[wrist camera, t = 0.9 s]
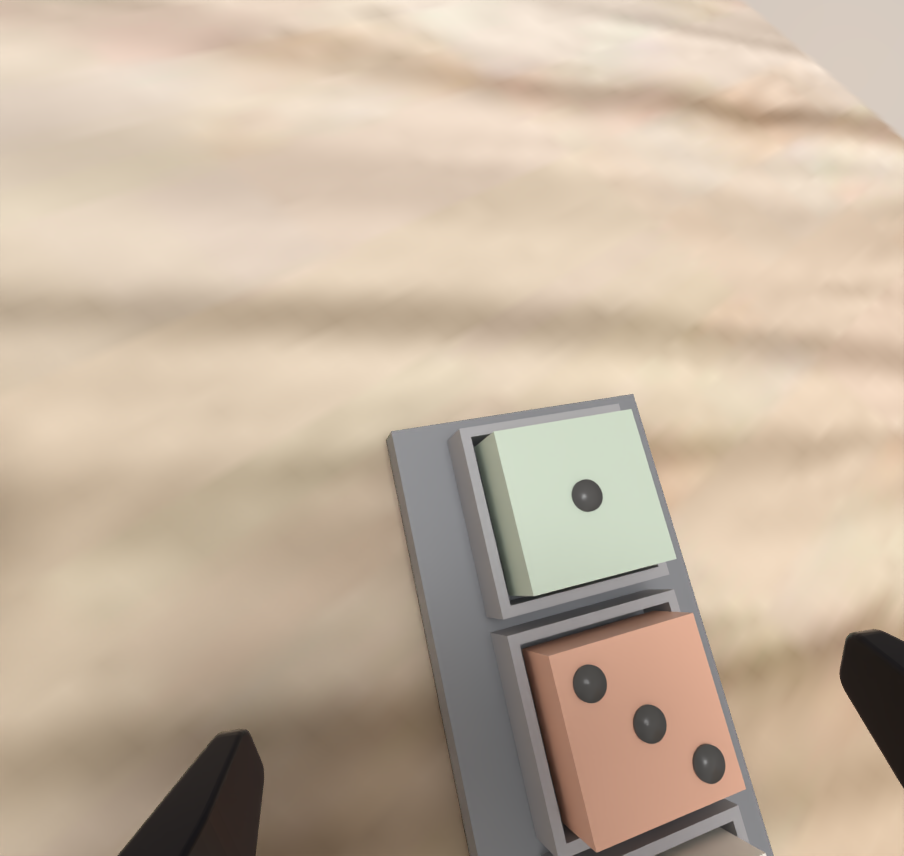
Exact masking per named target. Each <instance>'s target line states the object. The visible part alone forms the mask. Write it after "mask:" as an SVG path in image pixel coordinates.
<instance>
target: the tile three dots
mask: <svg viewBox="0 0 904 856" xmlns="http://www.w3.org/2000/svg"><path fill="white" fill-rule="evenodd" d="M522 653H523V657H524V661H525V665H526V670H527V674H528V678H529V682H530V686H531V691H532V695H533V699H534V703H535V708H536V712H537V716H538V720H539V725H540V729H541V733H542V737H543V742H544V746H545V750H546V754H547V759H548V763H549V767H550V771H551V776H552V780H553V784H554V788H555V793H556V797H557V801H558V805H559V810H560V814H561V818H562V822H563V824H565V825H566V826H567V827H568V828H569V829H570V830H571V831H572V832H574V833H575V834H576V835H577V836H578V837H579V838H580V839H582V840H583V841H584V842H585V843H586V844H587V845H588V846H589V847H591V848H592V849H593V850H594V851H595V852H596V853H597V852H600V851H602V850H604V849H607V848H609V847H611V846H614V845H616V844H618V843H621V842H623V841H626V840H628V839H630V838H633V837H635V836H637V835H640V834H642V833H644V832H647V831H649V830H651V829H654V828H656V827H658V826H661V825H663V824H665V823H668V822H670V821H672V820H675V819H677V818H679V817H682V816H684V815H686V814H689V813H691V812H693V811H696V810H698V809H700V808H703V807H705V806H708V805H710V804H712V803H715V802H717V801H719V800H722V799H724V798H726V797H729V796H731V795H733V794H736V793H738V792H740V791H743V790H745V789H746V787H745V783H744V780H743V777H742V773H741V770H740V767H739V763H738V760H737V757H736V753H735V750H734V747H733V744H732V740H731V737H730V734H729V730H728V727H727V724H726V720H725V717H724V714H723V710H722V707H721V704H720V700H719V697H718V694H717V691H716V687H715V684H714V681H713V677H712V674H711V671H710V667H709V664H708V661H707V657H706V654H705V651H704V647H703V644H702V641H701V638H700V634H699V631H698V628H697V624H696V621H695V618H694V614H693V613H688V612H670V611H651V612H647V613H644V614H640V615H637V616H633V617H630V618H627V619H623V620H620V621H616V622H613V623H609V624H606V625H603V626H599V627H596V628H592V629H589V630H585V631H582V632H579V633H575V634H572V635H568V636H565V637H561V638H558V639H555V640H551V641H548V642H544V643H541V644H537V645H534V646H530V647H527V648H524V649H522Z"/></svg>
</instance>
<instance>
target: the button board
mask: <svg viewBox="0 0 904 856" xmlns="http://www.w3.org/2000/svg"><path fill="white" fill-rule="evenodd" d="M628 409H632V412H633V416H634V419H635V422H636V425H637V429H638V432H639V435H640V439H641V442H642V445H643V449H644V452H645V455H646V459H647V462H648V465H649V469H650V472H651V475H652V478H653V482H654V485H655V488H656V492H657V495H658V498H659V502H660V505H661V508H662V512H663V515H664V518H665V522H666V525H667V528H668V531H669V535H670V538H671V541H672V545H673V548H674V551H675V555H676V558H677V559H674V560H670V561H666V562H663V563H659V564H655V565H651V566H647V567H644V568H640V569H636V570H632V571H628V572H625V573H621V574H617V575H613V576H609V577H606V578H602V579H598V580H594V581H590V582H587V583H583V584H579V585H575V586H571V587H567V588H564V589H560V590H556V591H552V592H548V593H545V594H541V595H537V596H509V593H508V589H507V585H506V580H505V576H504V572H503V568H502V563H501V559H500V555H499V551H498V546H497V542H496V538H495V534H494V529H493V525H492V521H491V517H490V512H489V508H488V504H487V500H486V495H485V491H484V487H483V483H482V478H481V474H480V470H479V466H478V461H477V457H476V453H475V449H474V447H475V446H476V445H478V444H479V443H480V442H481V441H483V440H484V439H485V438H486V437H487V436H489V435H490V434H491V433H492V432H494V431H499V430H506V429H512V428H518V427H524V426H530V425H536V424H542V423H548V422H555V421H561V420H567V419H573V418H579V417H585V416H591V415H597V414H603V413H610V412H616V411H622V410H628ZM386 441H387V446H388V451H389V456H390V461H391V466H392V471H393V476H394V481H395V486H396V491H397V496H398V501H399V506H400V511H401V516H402V521H403V526H404V531H405V536H406V541H407V546H408V551H409V556H410V561H411V566H412V571H413V576H414V580H415V585H416V590H417V595H418V600H419V605H420V610H421V615H422V620H423V625H424V630H425V635H426V640H427V645H428V650H429V655H430V660H431V665H432V670H433V675H434V680H435V685H436V690H437V695H438V700H439V705H440V710H441V715H442V720H443V725H444V730H445V734H446V739H447V744H448V749H449V754H450V759H451V764H452V769H453V774H454V779H455V784H456V789H457V794H458V799H459V804H460V809H461V814H462V819H463V824H464V829H465V834H466V839H467V844H468V849H469V854H470V856H655V855H657V854H659V853H661V852H664V851H666V850H668V849H670V848H673V847H675V846H677V845H679V844H682V843H684V842H686V841H688V840H691V839H693V838H695V837H697V836H700V835H702V834H704V833H706V832H709V831H711V830H713V829H715V828H718V827H720V828H722V829H724V830H726V831H728V832H729V833H731V834H733V835H735V836H736V837H738V838H740V839H742V840H744V841H745V842H747V843H749V844H751V845H752V846H754V847H756V848H758V849H759V850H761V851H763V852H765V853H766V856H774V855H773V852H772V849H771V845H770V842H769V839H768V836H767V832H766V829H765V826H764V822H763V819H762V816H761V813H760V809H759V806H758V803H757V799H756V796H755V793H754V790H753V786H752V783H751V780H750V776H749V773H748V770H747V767H746V763H745V760H744V757H743V753H742V750H741V747H740V744H739V740H738V737H737V734H736V730H735V727H734V724H733V721H732V717H731V714H730V711H729V707H728V704H727V701H726V698H725V694H724V691H723V688H722V684H721V681H720V678H719V675H718V671H717V668H716V665H715V661H714V658H713V655H712V652H711V648H710V645H709V642H708V638H707V635H706V632H705V629H704V625H703V622H702V619H701V615H700V612H699V609H698V606H697V602H696V599H695V596H694V592H693V589H692V586H691V583H690V579H689V576H688V573H687V569H686V566H685V563H684V560H683V556H682V553H681V550H680V546H679V543H678V540H677V537H676V533H675V530H674V527H673V523H672V520H671V517H670V514H669V510H668V507H667V504H666V500H665V497H664V494H663V491H662V487H661V484H660V481H659V477H658V474H657V471H656V468H655V464H654V461H653V458H652V454H651V451H650V448H649V445H648V441H647V438H646V435H645V431H644V428H643V425H642V421H641V418H640V415H639V412H638V408H637V405H636V402H635V398H634V395H633V394H630V395H624V396H617V397H611V398H605V399H598V400H592V401H585V402H579V403H572V404H566V405H559V406H553V407H546V408H540V409H533V410H527V411H520V412H514V413H507V414H501V415H495V416H488V417H482V418H475V419H469V420H462V421H456V422H449V423H443V424H436V425H430V426H423V427H417V428H410V429H404V430H397V431H391V433H390V435H389V436H388V438H387V440H386ZM651 611H670V612H688V613H693V614H694V618H695V621H696V624H697V628H698V631H699V634H700V638H701V641H702V644H703V647H704V651H705V654H706V657H707V661H708V664H709V667H710V671H711V674H712V677H713V681H714V684H715V687H716V691H717V694H718V697H719V700H720V704H721V707H722V710H723V714H724V717H725V720H726V724H727V727H728V730H729V734H730V737H731V740H732V744H733V747H734V750H735V753H736V757H737V760H738V763H739V767H740V770H741V773H742V777H743V780H744V783H745V787H746V789H745V790H743V791H740V792H738V793H736V794H733V795H731V796H729V797H726V798H724V799H722V800H719V801H717V802H715V803H712V804H710V805H708V806H705V807H703V808H700V809H698V810H696V811H693V812H691V813H689V814H686V815H684V816H682V817H679V818H677V819H675V820H672V821H670V822H668V823H665V824H663V825H661V826H658V827H656V828H654V829H651V830H649V831H647V832H644V833H642V834H640V835H637V836H635V837H633V838H630V839H628V840H626V841H623V842H621V843H618V844H616V845H614V846H611V847H609V848H607V849H604V850H602V851H600V852H597V853H596V852H595V851H594V850H593V849H592V848H591V847H589V846H588V845H587V844H586V843H585V842H584V841H583V840H582V839H580V838H579V837H578V836H577V835H576V834H575V833H574V832H572V831H571V830H570V829H569V828H568V827H567V826H566V825H565V824H563V822H562V818H561V814H560V810H559V805H558V801H557V797H556V793H555V788H554V784H553V780H552V776H551V771H550V767H549V763H548V759H547V754H546V750H545V746H544V742H543V737H542V733H541V729H540V725H539V720H538V716H537V712H536V708H535V703H534V699H533V695H532V691H531V686H530V682H529V678H528V674H527V670H526V665H525V661H524V657H523V653H522V649H524V648H527V647H530V646H534V645H537V644H541V643H544V642H548V641H551V640H555V639H558V638H561V637H565V636H568V635H572V634H575V633H579V632H582V631H585V630H589V629H592V628H596V627H599V626H603V625H606V624H609V623H613V622H616V621H620V620H623V619H627V618H630V617H633V616H637V615H640V614H644V613H647V612H651Z"/></svg>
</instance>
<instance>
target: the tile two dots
mask: <svg viewBox="0 0 904 856" xmlns="http://www.w3.org/2000/svg"><path fill="white" fill-rule="evenodd" d="M655 856H766V853H765V852H763V851H761V850H759V849H758V848H756V847H754V846H752V845H751V844H749V843H747V842H745V841H744V840H742V839H740V838H738V837H736V836H735V835H733V834H731V833H729V832H728V831H726V830H724V829H722V828H720V827H718V828H715V829H713V830H711V831H709V832H706V833H704V834H702V835H700V836H697V837H695V838H693V839H691V840H688V841H686V842H684V843H682V844H679V845H677V846H675V847H673V848H670V849H668V850H666V851H664V852H661V853H659V854H657V855H655Z"/></svg>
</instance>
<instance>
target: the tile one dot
mask: <svg viewBox="0 0 904 856" xmlns="http://www.w3.org/2000/svg"><path fill="white" fill-rule="evenodd" d="M474 449H475V453H476V457H477V461H478V466H479V470H480V474H481V478H482V483H483V487H484V491H485V495H486V500H487V504H488V508H489V512H490V517H491V521H492V525H493V529H494V534H495V538H496V542H497V546H498V551H499V555H500V559H501V563H502V568H503V572H504V576H505V580H506V585H507V589H508V593H509V596H537V595H541V594H545V593H548V592H552V591H556V590H560V589H564V588H567V587H571V586H575V585H579V584H583V583H587V582H590V581H594V580H598V579H602V578H606V577H609V576H613V575H617V574H621V573H625V572H628V571H632V570H636V569H640V568H644V567H647V566H651V565H655V564H659V563H663V562H666V561H670V560H674V559H677V558H676V555H675V551H674V548H673V545H672V541H671V538H670V535H669V531H668V528H667V525H666V522H665V518H664V515H663V512H662V508H661V505H660V502H659V498H658V495H657V492H656V488H655V485H654V482H653V478H652V475H651V472H650V469H649V465H648V462H647V459H646V455H645V452H644V449H643V445H642V442H641V439H640V435H639V432H638V429H637V425H636V422H635V419H634V416H633V412H632V409H628V410H622V411H616V412H610V413H603V414H597V415H591V416H585V417H579V418H573V419H567V420H561V421H555V422H548V423H542V424H536V425H530V426H524V427H518V428H512V429H506V430H499V431H494V432H492V433H491V434H490V435H489V436H487V437H486V438H485V439H484V440H483V441H481V442H480V443H479V444H478V445H476V446H475V447H474Z"/></svg>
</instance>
